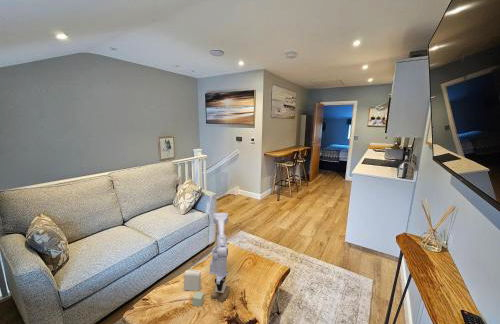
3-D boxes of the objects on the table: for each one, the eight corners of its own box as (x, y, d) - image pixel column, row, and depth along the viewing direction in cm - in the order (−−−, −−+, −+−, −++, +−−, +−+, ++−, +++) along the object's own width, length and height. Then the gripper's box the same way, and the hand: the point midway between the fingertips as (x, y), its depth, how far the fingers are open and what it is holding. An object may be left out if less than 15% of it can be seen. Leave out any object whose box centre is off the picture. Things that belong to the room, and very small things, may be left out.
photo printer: (183, 290, 125) (183, 272, 124) (185, 285, 130) (185, 267, 128) (199, 291, 125) (200, 272, 124) (201, 286, 130) (201, 268, 128)
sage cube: (192, 305, 114) (192, 297, 114) (195, 299, 119) (196, 291, 119) (200, 307, 114) (200, 299, 113) (203, 300, 119) (204, 292, 118)
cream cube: (215, 291, 120) (215, 284, 120) (217, 286, 125) (218, 278, 125) (223, 293, 120) (223, 285, 119) (225, 287, 125) (225, 279, 124)
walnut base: (211, 300, 119) (210, 295, 119) (215, 289, 128) (215, 284, 128) (225, 301, 118) (225, 296, 117) (229, 290, 127) (229, 286, 126)
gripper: (225, 274, 113) (224, 297, 115) (231, 260, 128) (230, 280, 129) (212, 273, 114) (212, 295, 116) (220, 258, 129) (219, 278, 130)
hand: (220, 287), depth 122 cm, fingers closed on cream cube, 5 cm apart
